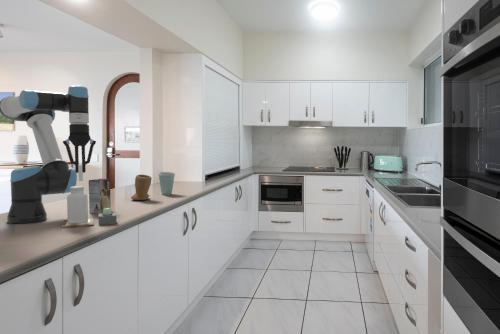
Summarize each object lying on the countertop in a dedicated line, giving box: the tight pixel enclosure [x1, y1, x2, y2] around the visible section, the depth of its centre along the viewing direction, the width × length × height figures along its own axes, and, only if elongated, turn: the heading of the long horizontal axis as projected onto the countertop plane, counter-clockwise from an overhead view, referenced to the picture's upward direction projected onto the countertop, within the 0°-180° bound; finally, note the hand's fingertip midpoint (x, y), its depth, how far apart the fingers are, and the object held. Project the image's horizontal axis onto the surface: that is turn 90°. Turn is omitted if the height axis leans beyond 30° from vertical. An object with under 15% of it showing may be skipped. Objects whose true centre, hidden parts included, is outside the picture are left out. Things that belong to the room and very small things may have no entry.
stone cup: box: [130, 174, 152, 201], centre depth 240 cm, size 15×12×15 cm
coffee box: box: [88, 178, 112, 214], centre depth 198 cm, size 9×6×16 cm
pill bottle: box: [66, 185, 89, 224], centre depth 169 cm, size 8×8×15 cm
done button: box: [103, 208, 112, 216], centre depth 171 cm, size 3×3×4 cm
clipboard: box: [61, 217, 95, 229], centre depth 169 cm, size 12×14×1 cm
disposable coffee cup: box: [157, 171, 176, 196], centre depth 265 cm, size 11×11×15 cm
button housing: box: [98, 212, 117, 226], centre depth 172 cm, size 7×7×4 cm
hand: (80, 180), depth 168 cm, fingers closed
